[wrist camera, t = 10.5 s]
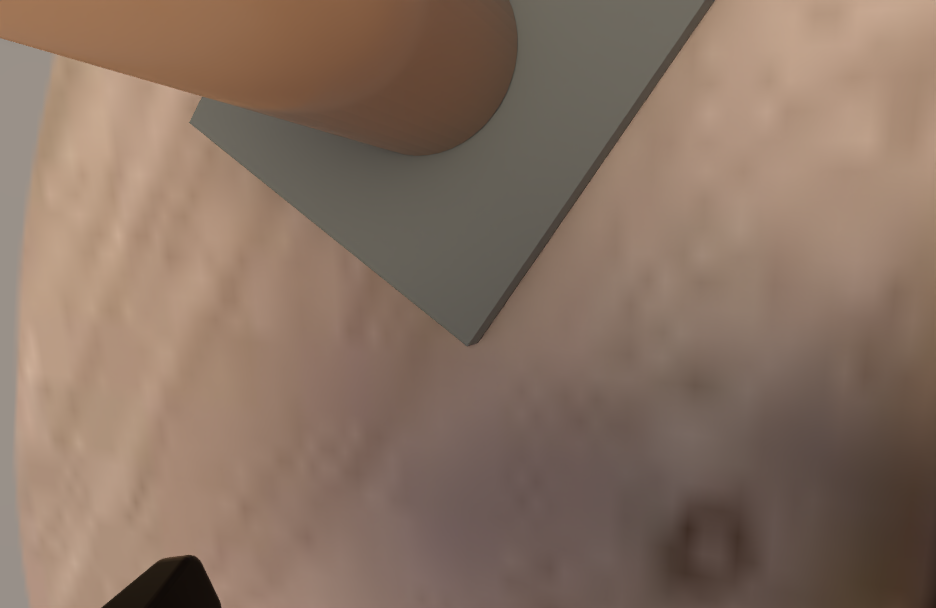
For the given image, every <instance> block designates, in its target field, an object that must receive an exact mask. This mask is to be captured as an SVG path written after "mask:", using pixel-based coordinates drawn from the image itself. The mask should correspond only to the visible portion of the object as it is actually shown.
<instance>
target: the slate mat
mask: <svg viewBox="0 0 936 608" xmlns="http://www.w3.org/2000/svg"><path fill="white" fill-rule="evenodd" d="M509 1H510V4H511V6H512V9H513V13H514V17H515V21H516V28H517V56H516V64H515V68H514V72H513V76H512V79H511V82H510V85H509V87H508V90H507V92H506V94H505V96H504V98H503V100H502V102H501V104H500V105H499V107H498V108H497V110H496V111H495V113H494V114H493V116H492V117H491V118H490V119H489V120H488V122H487V123H486V124H485V125H484V126H483V127H482V128H481V129H480V130H479V131H478V132H476V133H475V134H474V135H473V136H472V137H470V138H469V139H467V140H466V141H464V142H463V143H461V144H459V145H457V146H455V147H453V148H452V149H449V150H446V151H443V152H440V153H436V154H431V155H422V156H413V155H404V154H400V153H396V152H392V151H389V150H385V149H382V148H378V147H375V146H371V145H368V144H364V143H361V142H358V141H354V140H351V139H347V138H344V137H340V136H337V135H333V134H330V133H326V132H323V131H320V130H316V129H313V128H309V127H306V126H302V125H299V124H295V123H292V122H289V121H285V120H282V119H278V118H275V117H271V116H268V115H264V114H261V113H257V112H254V111H251V110H247V109H244V108H240V107H237V106H233V105H230V104H226V103H223V102H220V101H216V100H213V99H209V98H206V97H202V98H201V100H200V102H199V104H198V106H197V108H196V110H195V112H194V114H193V116H192V118H191V120H190V122H189V123H190V124H192V125H193V126H194V127H195V128H197V129H198V130H199V131H200V132H201V133H203V134H204V135H205V136H206V137H208V138H209V139H210V140H211V141H213V142H214V143H215V144H216V145H218V146H219V147H220V148H221V149H223V150H224V151H225V152H226V153H228V154H229V155H230V156H231V157H233V158H234V159H235V160H236V161H238V162H239V163H240V164H241V165H242V166H244V167H245V168H246V169H247V170H249V171H250V172H251V173H252V174H254V175H255V176H256V177H257V178H259V179H260V180H261V181H262V182H264V183H265V184H266V185H267V186H269V187H270V188H271V189H272V190H274V191H275V192H276V193H277V194H278V195H280V196H281V197H282V198H283V199H285V200H286V201H287V202H288V203H290V204H291V205H292V206H293V207H295V208H296V209H297V210H298V211H300V212H301V213H302V214H303V215H305V216H306V217H307V218H308V219H310V220H311V221H312V222H313V223H315V224H316V225H317V226H318V227H319V228H321V229H322V230H323V231H324V232H326V233H327V234H328V235H329V236H331V237H332V238H333V239H334V240H336V241H337V242H338V243H339V244H341V245H342V246H343V247H344V248H346V249H347V250H348V251H349V252H351V253H352V254H353V255H354V256H356V257H357V258H358V259H359V260H360V261H362V262H363V263H364V264H365V265H367V266H368V267H369V268H370V269H372V270H373V271H374V272H375V273H377V274H378V275H379V276H380V277H382V278H383V279H384V280H385V281H387V282H388V283H389V284H390V285H392V286H393V287H394V288H395V289H397V290H398V291H399V292H400V293H401V294H403V295H404V296H405V297H406V298H408V299H409V300H410V301H411V302H413V303H414V304H415V305H416V306H418V307H419V308H420V309H421V310H423V311H424V312H425V313H426V314H428V315H429V316H430V317H431V318H433V319H434V320H435V321H436V322H437V323H439V324H440V325H441V326H442V327H444V328H445V329H446V330H447V331H449V332H450V333H451V334H452V335H454V336H455V337H456V338H457V339H459V340H460V341H461V342H462V343H464V344H465V345H466V346H470V345H473V344H475V343H478V342H479V340H480V339H481V337H482V336H483V334H484V333H485V332H486V330H487V329H488V327H489V326H490V324H491V323H492V321H493V320H494V319H495V317H496V316H497V314H498V313H499V311H500V310H501V308H502V307H503V306H504V304H505V303H506V301H507V300H508V298H509V297H510V295H511V294H512V292H513V291H514V290H515V288H516V287H517V285H518V284H519V282H520V281H521V279H522V278H523V277H524V275H525V274H526V272H527V271H528V269H529V268H530V266H531V265H532V264H533V262H534V261H535V259H536V258H537V256H538V255H539V253H540V252H541V251H542V249H543V248H544V246H545V245H546V243H547V242H548V240H549V239H550V238H551V236H552V235H553V233H554V232H555V230H556V229H557V227H558V226H559V225H560V223H561V222H562V220H563V219H564V217H565V216H566V214H567V213H568V212H569V210H570V209H571V207H572V206H573V204H574V203H575V201H576V200H577V199H578V197H579V196H580V194H581V193H582V191H583V190H584V188H585V187H586V186H587V184H588V183H589V181H590V180H591V178H592V177H593V175H594V174H595V173H596V171H597V170H598V168H599V167H600V165H601V164H602V162H603V161H604V159H605V158H606V157H607V155H608V154H609V152H610V151H611V149H612V148H613V146H614V145H615V144H616V142H617V141H618V139H619V138H620V136H621V135H622V133H623V132H624V131H625V129H626V128H627V126H628V125H629V123H630V122H631V120H632V119H633V118H634V116H635V115H636V113H637V112H638V110H639V109H640V107H641V106H642V105H643V103H644V102H645V100H646V99H647V97H648V96H649V94H650V93H651V92H652V90H653V89H654V87H655V86H656V84H657V83H658V81H659V80H660V79H661V77H662V76H663V74H664V73H665V71H666V70H667V68H668V67H669V66H670V64H671V63H672V61H673V60H674V58H675V57H676V55H677V54H678V53H679V51H680V50H681V48H682V47H683V45H684V44H685V42H686V41H687V39H688V38H689V37H690V35H691V34H692V32H693V31H694V29H695V28H696V26H697V25H698V24H699V22H700V21H701V19H702V18H703V16H704V15H705V13H706V12H707V11H708V9H709V8H710V6H711V5H712V3H713V2H714V0H509Z"/></svg>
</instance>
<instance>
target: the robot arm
mask: <svg viewBox="0 0 936 608" xmlns="http://www.w3.org/2000/svg"><path fill="white" fill-rule="evenodd" d="M102 608H221V603H220V600H219V598H218V596H217V594H216V592H215V590H214V588H213V586H212V584H211V581H210V579H209V577H208V575H207V573H206V571H205V569H204V567H203V565H202V563H201V561H200V560H199V559H198V558H197V557H195V556H192V555H184V556H177V557H169V558H164V559H161V560H159V561H158V562H156V563H155V564H154V565H153V566H151V567H150V568H149V569H148V570H147V571H145V572H144V573H143V574H142V575H140V576H139V577H138V578H137V579H136V580H134V581H133V582H132V583H131V584H130V585H128V586H127V587H126V588H125V589H124V590H122V591H121V592H120V593H119V594H117V595H116V596H115V597H114V598H113V599H111V600H110V601H109V602H108V603H107V604H105V605H104V606H103V607H102Z"/></svg>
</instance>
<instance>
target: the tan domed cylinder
mask: <svg viewBox="0 0 936 608" xmlns="http://www.w3.org/2000/svg"><path fill="white" fill-rule="evenodd" d="M0 38H2V39H6V40H9V41H13V42H16V43H19V44H23V45H26V46H30V47H33V48H37V49H40V50H44V51H47V52H50V53H54V54H57V55H61V56H64V57H68V58H71V59H75V60H78V61H82V62H85V63H88V64H92V65H95V66H99V67H102V68H106V69H109V70H113V71H116V72H119V73H123V74H126V75H130V76H133V77H137V78H140V79H144V80H147V81H151V82H154V83H157V84H161V85H164V86H168V87H171V88H175V89H178V90H182V91H185V92H188V93H192V94H195V95H199V96H202V97H206V98H209V99H213V100H216V101H220V102H223V103H226V104H230V105H233V106H237V107H240V108H244V109H247V110H251V111H254V112H257V113H261V114H264V115H268V116H271V117H275V118H278V119H282V120H285V121H289V122H292V123H295V124H299V125H302V126H306V127H309V128H313V129H316V130H320V131H323V132H326V133H330V134H333V135H337V136H340V137H344V138H347V139H351V140H354V141H358V142H361V143H364V144H368V145H371V146H375V147H378V148H382V149H385V150H389V151H392V152H396V153H400V154H404V155H413V156H422V155H431V154H436V153H440V152H443V151H446V150H449V149H452V148H453V147H455V146H457V145H459V144H461V143H463V142H464V141H466V140H467V139H469V138H470V137H472V136H473V135H474V134H475V133H476V132H478V131H479V130H480V129H481V128H482V127H483V126H484V125H485V124H486V123H487V122H488V120H489V119H490V118H491V117H492V116H493V114H494V113H495V111H496V110H497V108H498V107H499V105H500V104H501V102H502V100H503V98H504V96H505V94H506V92H507V90H508V87H509V85H510V82H511V79H512V76H513V72H514V68H515V64H516V56H517V28H516V21H515V17H514V13H513V9H512V6H511V4H510V1H509V0H0Z"/></svg>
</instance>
